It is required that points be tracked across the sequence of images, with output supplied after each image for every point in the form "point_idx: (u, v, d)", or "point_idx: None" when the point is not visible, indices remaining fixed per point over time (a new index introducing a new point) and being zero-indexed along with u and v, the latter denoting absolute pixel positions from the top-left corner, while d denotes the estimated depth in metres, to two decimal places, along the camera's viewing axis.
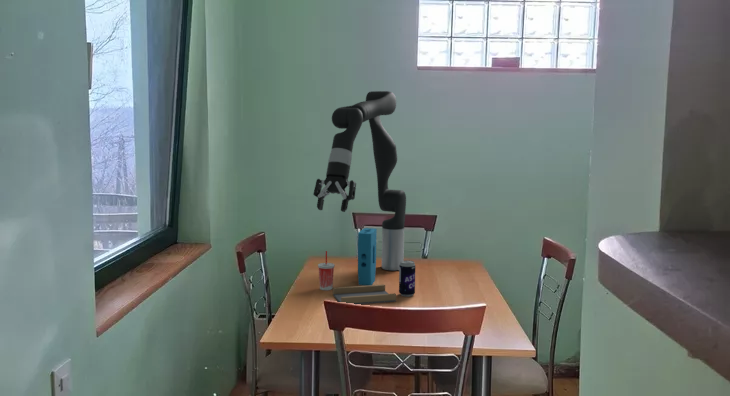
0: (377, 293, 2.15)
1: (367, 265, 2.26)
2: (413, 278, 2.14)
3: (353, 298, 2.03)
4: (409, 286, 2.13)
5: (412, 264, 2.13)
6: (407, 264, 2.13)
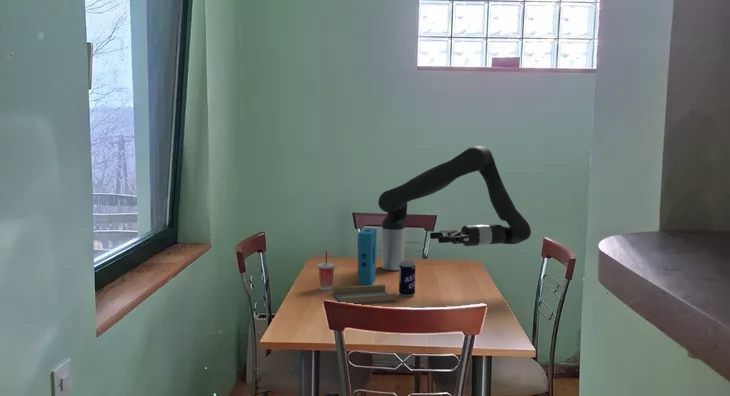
0: (377, 293, 2.15)
1: (367, 265, 2.26)
2: (413, 278, 2.14)
3: (353, 298, 2.03)
4: (409, 286, 2.13)
5: (412, 264, 2.13)
6: (407, 264, 2.13)
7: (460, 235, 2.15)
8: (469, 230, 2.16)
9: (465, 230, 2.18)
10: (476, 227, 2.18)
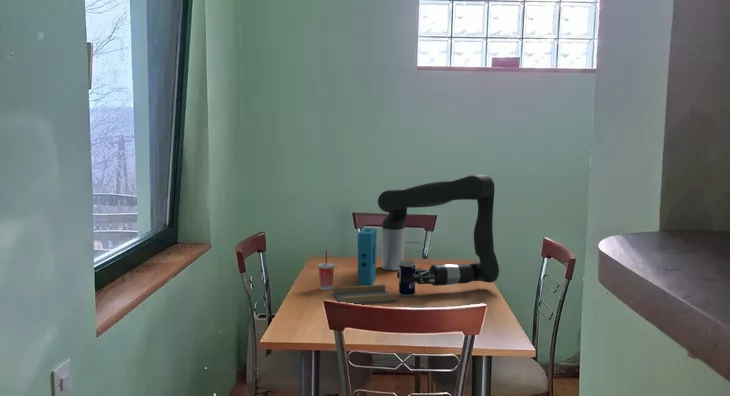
0: (377, 293, 2.15)
1: (367, 265, 2.26)
2: None
3: (353, 298, 2.03)
4: (409, 286, 2.13)
5: (412, 264, 2.13)
6: (407, 264, 2.13)
7: (428, 275, 2.14)
8: (437, 270, 2.15)
9: (433, 270, 2.17)
10: (444, 267, 2.17)
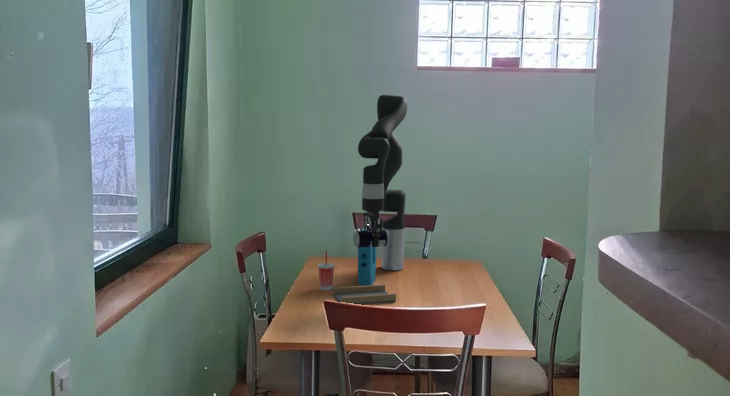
0: (377, 293, 2.15)
1: (367, 265, 2.26)
2: None
3: (353, 298, 2.03)
4: None
5: None
6: None
7: None
8: None
9: None
10: None
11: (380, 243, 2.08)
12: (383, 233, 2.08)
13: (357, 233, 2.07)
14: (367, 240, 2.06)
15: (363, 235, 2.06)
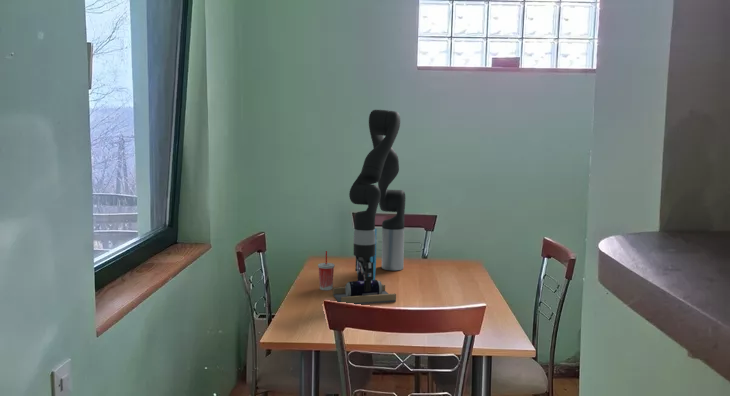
0: None
1: None
2: None
3: (353, 298, 2.03)
4: None
5: None
6: None
7: None
8: None
9: None
10: None
11: None
12: (375, 285, 2.09)
13: (349, 285, 2.07)
14: (359, 293, 2.07)
15: (355, 288, 2.07)
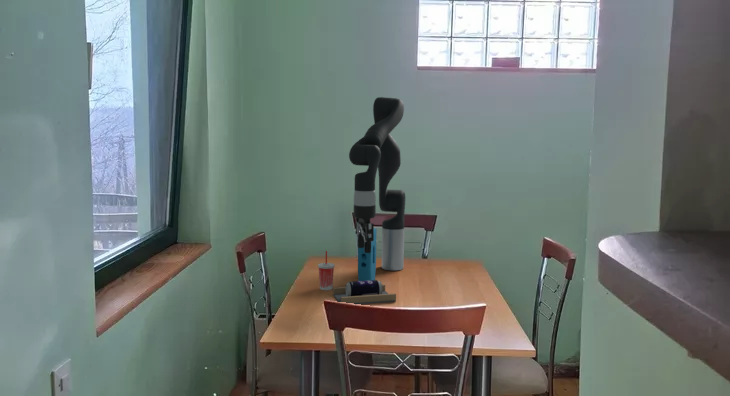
0: None
1: (367, 265, 2.26)
2: None
3: (353, 298, 2.03)
4: None
5: None
6: None
7: None
8: None
9: None
10: None
11: None
12: (375, 286, 2.09)
13: (349, 286, 2.07)
14: (359, 294, 2.07)
15: (355, 289, 2.07)
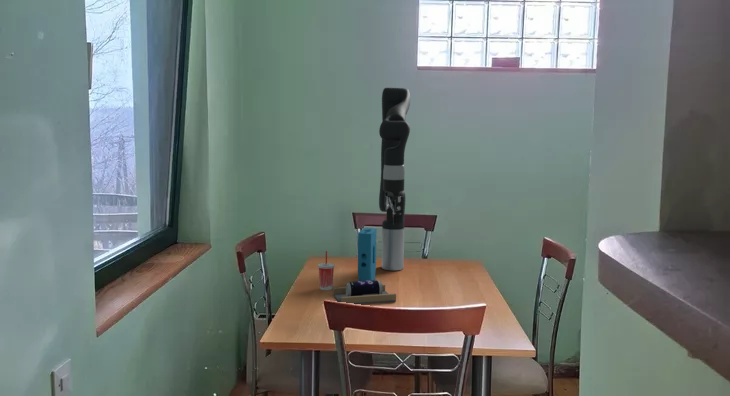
0: None
1: (367, 265, 2.26)
2: None
3: (353, 298, 2.03)
4: None
5: None
6: None
7: None
8: None
9: None
10: None
11: None
12: (376, 286, 2.09)
13: (349, 286, 2.07)
14: (359, 294, 2.07)
15: (355, 289, 2.07)
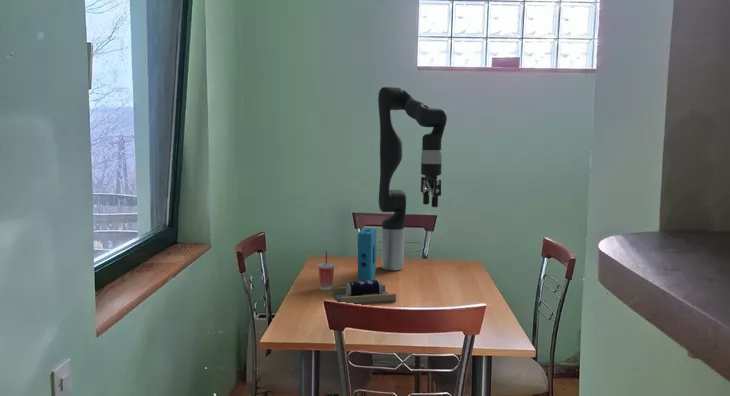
0: None
1: (367, 265, 2.26)
2: None
3: (353, 298, 2.03)
4: None
5: None
6: None
7: None
8: None
9: None
10: None
11: None
12: (375, 286, 2.09)
13: (349, 286, 2.07)
14: (359, 294, 2.07)
15: (355, 289, 2.07)
